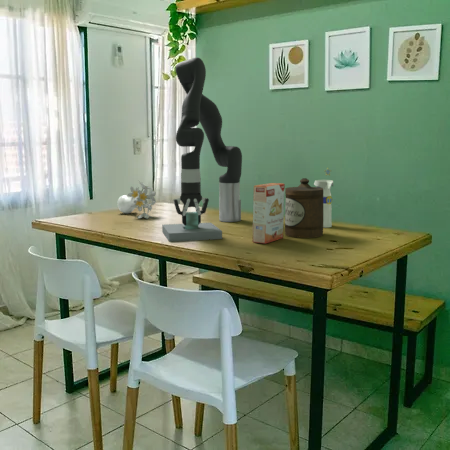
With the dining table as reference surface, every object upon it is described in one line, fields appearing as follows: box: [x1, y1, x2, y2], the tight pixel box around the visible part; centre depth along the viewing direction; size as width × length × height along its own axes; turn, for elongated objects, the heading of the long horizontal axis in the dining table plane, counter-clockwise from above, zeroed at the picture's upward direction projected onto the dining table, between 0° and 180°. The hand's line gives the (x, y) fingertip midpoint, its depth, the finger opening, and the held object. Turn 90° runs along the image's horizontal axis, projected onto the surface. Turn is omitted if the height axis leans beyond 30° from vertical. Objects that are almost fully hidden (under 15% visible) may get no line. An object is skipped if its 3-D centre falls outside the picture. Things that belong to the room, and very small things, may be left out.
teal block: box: [185, 211, 198, 229], centre depth 215 cm, size 4×4×8 cm
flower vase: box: [116, 180, 157, 219], centre depth 266 cm, size 13×18×25 cm
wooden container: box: [284, 177, 324, 239], centre depth 215 cm, size 15×15×22 cm
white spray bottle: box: [313, 167, 334, 229], centre depth 233 cm, size 8×8×25 cm
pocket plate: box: [161, 222, 223, 242], centre depth 215 cm, size 20×20×3 cm
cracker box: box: [252, 182, 286, 245], centre depth 204 cm, size 14×6×21 cm, turn 147°
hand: (191, 224), depth 215 cm, fingers closed on teal block, 4 cm apart
